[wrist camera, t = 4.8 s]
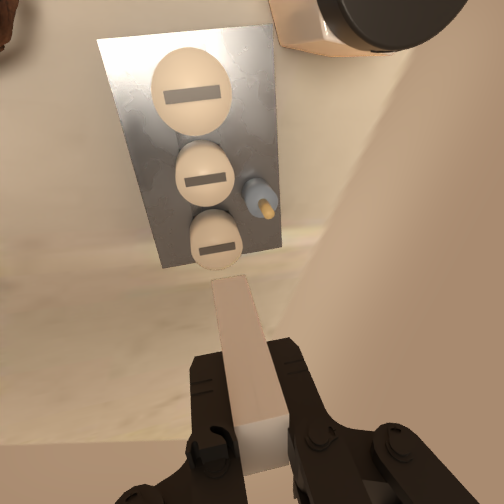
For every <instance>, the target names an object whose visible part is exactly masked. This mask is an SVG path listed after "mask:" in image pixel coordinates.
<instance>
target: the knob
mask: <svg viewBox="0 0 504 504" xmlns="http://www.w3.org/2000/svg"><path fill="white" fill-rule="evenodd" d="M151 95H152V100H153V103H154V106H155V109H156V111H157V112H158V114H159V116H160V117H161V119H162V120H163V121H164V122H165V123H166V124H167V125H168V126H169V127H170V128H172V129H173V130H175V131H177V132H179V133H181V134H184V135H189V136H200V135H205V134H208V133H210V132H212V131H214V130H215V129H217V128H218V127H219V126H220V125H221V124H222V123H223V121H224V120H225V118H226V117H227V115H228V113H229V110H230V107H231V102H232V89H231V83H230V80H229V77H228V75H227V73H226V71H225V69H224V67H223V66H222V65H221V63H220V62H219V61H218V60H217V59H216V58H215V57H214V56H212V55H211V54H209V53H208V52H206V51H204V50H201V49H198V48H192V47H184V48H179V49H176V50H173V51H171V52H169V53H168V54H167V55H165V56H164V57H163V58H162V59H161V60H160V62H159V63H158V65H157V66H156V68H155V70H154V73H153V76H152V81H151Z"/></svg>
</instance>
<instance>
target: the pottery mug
mask: <svg viewBox="0 0 504 504" xmlns="http://www.w3.org/2000/svg"><path fill="white" fill-rule="evenodd" d="M18 3H19V0H0V52H1V51H3V50H4V48H5V46H4V44H6V43H8V42H9V41H10V40H11V36H12V29H13V21H14V17H15V13H16V9H17V7H18Z"/></svg>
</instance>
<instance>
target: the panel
mask: <svg viewBox="0 0 504 504" xmlns="http://www.w3.org/2000/svg"><path fill="white" fill-rule="evenodd" d="M97 42H98V46H99V49H100V53H101V56H102V60H103V63H104V67H105V70H106V73H107V77H108V80H109V84H110V87H111V91H112V94H113V98H114V101H115V105H116V108H117V112H118V115H119V119H120V122H121V126H122V129H123V133H124V136H125V140H126V143H127V146H128V150H129V153H130V157H131V160H132V164H133V167H134V171H135V174H136V178H137V181H138V185H139V188H140V192H141V195H142V199H143V202H144V206H145V209H146V213H147V216H148V219H149V223H150V226H151V230H152V233H153V237H154V240H155V244H156V247H157V251H158V254H159V258H160V261H161V265H162V268H168V267H174V266H179V265H185V264H191V263H196V261H195V260H194V258H193V256H192V253H191V244H190V225H191V223H192V221H193V219H194V218H195V216H197V215H198V214H199V213H201V212H203V211H206V210H209V209H219V210H223V211H225V212H227V213H228V214H230V215H231V216H232V217H233V219H234V220H235V223H236V225H237V228H238V231H239V234H240V237H241V239H242V243H243V249H242V253H241V254H246V253H252V252H257V251H263V250H268V249H274V248H279V247H282V238H281V214H280V190H279V166H278V142H277V118H276V94H275V70H274V46H273V24H263V25H252V26H241V27H230V28H219V29H208V30H197V31H186V32H175V33H164V34H153V35H142V36H131V37H119V38H108V39H97ZM184 47H192V48H198V49H201V50H204V51H206V52H208V53H209V54H211V55H212V56H214V57H215V58H216V59H217V60H218V61H219V62H220V63H221V65H222V66H223V67H224V69H225V71H226V73H227V75H228V77H229V80H230V83H231V89H232V102H231V107H230V110H229V113H228V115H227V117H226V118H225V120H224V121H223V123H222V124H221V125H220V126H219V127H218V128H217V129H215V130H214V131H212V132H210V133H208V134H205V135H200V136H189V135H184V134H181V133H179V132H177V131H175V130H173V129H172V128H170V127H169V126H168V125H167V124H166V123H165V122H164V121H163V120H162V119H161V117H160V116H159V114H158V112H157V111H156V109H155V106H154V103H153V100H152V95H151V81H152V76H153V73H154V70H155V68H156V66H157V65H158V63H159V62H160V60H161V59H162V58H163V57H164V56H165V55H167V54H168V53H169V52H171V51H173V50H176V49H179V48H184ZM195 140H208V141H211V142H213V143H215V144H217V145H218V146H219V147H221V148H222V150H223V151H224V152H225V154H226V156H227V158H228V160H229V162H230V164H231V166H232V168H233V171H234V177H235V180H234V186H233V189H232V191H231V193H230V194H229V196H228V197H227V198H226V199H225V200H224V201H222V202H221V203H219V204H217V205H214V206H208V207H202V206H197V205H194V204H192V203H190V202H188V201H187V200H186V199H185V198H184V197H183V196H182V195H181V194H180V192H179V190H178V188H177V185H176V178H175V175H176V159H177V156H178V154H179V152H180V150H181V149H182V148H183V147H184V146H185V145H186V144H188V143H190V142H192V141H195ZM253 178H261V179H263V180H265V181H266V182H267V183H268V184H269V186H270V187H271V188H272V190H273V191H274V192H275V194H276V195H277V198H278V206H277V208H276V210H275V211H274V212H275V215H274V217H273V218H272V219H266V218H258V217H255V216H253V215H252V214H251V213H250V212H249V210H248V208H247V206H246V203H245V201H244V199H243V197H242V189H243V186H244V185H245V183H246V182H247V181H249V180H251V179H253Z"/></svg>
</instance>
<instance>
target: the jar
mask: <svg viewBox="0 0 504 504" xmlns="http://www.w3.org/2000/svg"><path fill="white" fill-rule="evenodd" d="M268 1H269V4H270V8H271V12H272V16H273V20H274V24H275V27H276V31H277V35H278V39H279V43H280V45H281V46H282V47H287V48H291V49H296V50H300V51H305V52H309V53H314V54H318V55H323V56H328V57H351V56H390V55H393V54H394V53H395V52H397V51H401V50H405V49H409V48H412V47H415V46H418V45H420V44H422V43H424V42H426V41H428V40H430V39H431V38H433V37H434V36H436V35H437V34H438V33H439V32H440V31H442V30H443V29H444V28H445V27H446V26H447V25H448V24H449V23H450V22H451V21H452V20H453V19H454V18H455V17H456V16H457V14H458V13H459V12H460V11H461V9H462V8H463V7H464V5H465V4H466V2H467V1H468V0H268Z"/></svg>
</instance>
